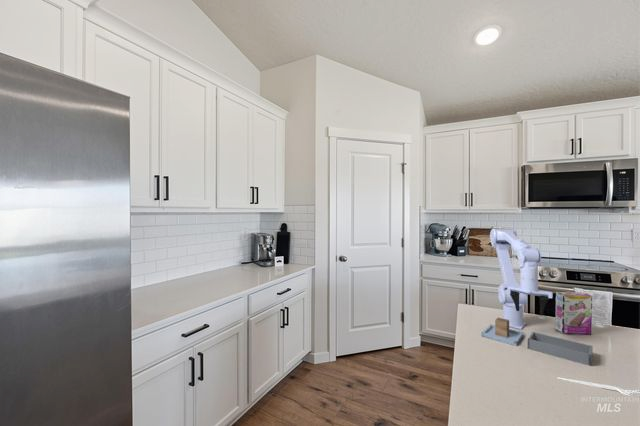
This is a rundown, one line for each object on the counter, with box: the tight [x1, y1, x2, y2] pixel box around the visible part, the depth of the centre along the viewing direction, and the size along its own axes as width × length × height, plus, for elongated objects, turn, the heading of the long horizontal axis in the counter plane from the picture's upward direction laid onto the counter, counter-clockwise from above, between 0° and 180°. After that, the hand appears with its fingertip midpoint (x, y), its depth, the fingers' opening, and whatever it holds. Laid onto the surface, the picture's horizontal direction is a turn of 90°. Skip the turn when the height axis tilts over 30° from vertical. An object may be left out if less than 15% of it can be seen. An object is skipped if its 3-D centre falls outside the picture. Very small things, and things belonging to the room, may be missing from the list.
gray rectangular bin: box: [527, 331, 594, 367], centre depth 105 cm, size 9×17×4 cm, turn 45°
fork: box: [557, 376, 640, 397], centre depth 84 cm, size 3×20×2 cm, turn 62°
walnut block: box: [494, 317, 510, 338], centre depth 118 cm, size 4×4×6 cm
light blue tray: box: [481, 324, 524, 347], centre depth 118 cm, size 12×12×2 cm
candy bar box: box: [554, 291, 593, 336], centre depth 122 cm, size 11×5×16 cm, turn 84°
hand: (529, 312), depth 115 cm, fingers open, 7 cm apart
